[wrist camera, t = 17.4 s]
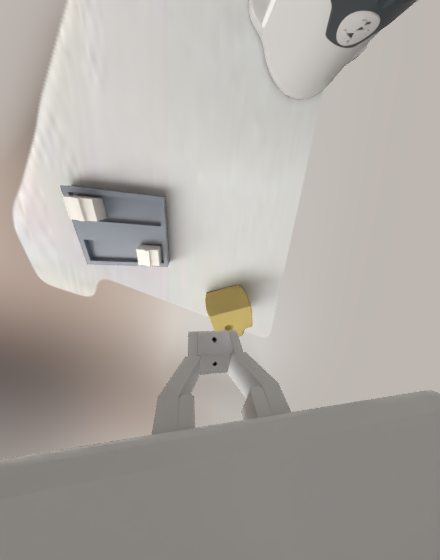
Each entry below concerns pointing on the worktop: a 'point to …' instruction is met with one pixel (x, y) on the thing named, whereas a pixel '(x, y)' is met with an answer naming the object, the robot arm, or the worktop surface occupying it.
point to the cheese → (229, 309)
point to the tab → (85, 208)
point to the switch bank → (122, 226)
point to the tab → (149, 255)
